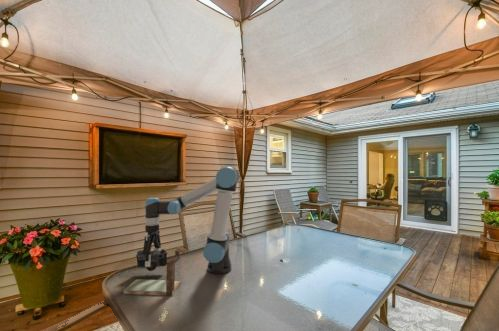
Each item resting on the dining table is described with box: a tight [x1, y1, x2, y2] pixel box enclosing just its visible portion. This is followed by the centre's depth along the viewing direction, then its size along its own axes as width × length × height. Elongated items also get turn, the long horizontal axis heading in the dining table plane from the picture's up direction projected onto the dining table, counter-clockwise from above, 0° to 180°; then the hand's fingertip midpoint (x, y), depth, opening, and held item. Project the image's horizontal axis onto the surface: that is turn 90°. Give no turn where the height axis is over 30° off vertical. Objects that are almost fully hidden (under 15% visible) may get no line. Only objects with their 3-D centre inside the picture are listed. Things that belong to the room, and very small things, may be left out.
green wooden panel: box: [123, 249, 182, 297], centre depth 118 cm, size 25×12×18 cm, turn 87°
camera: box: [135, 248, 168, 272], centre depth 132 cm, size 18×9×10 cm, turn 101°
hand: (152, 262), depth 133 cm, fingers closed on camera, 10 cm apart
